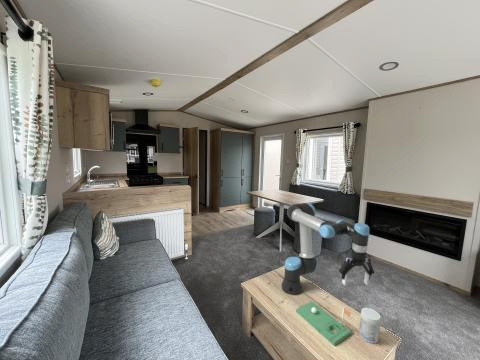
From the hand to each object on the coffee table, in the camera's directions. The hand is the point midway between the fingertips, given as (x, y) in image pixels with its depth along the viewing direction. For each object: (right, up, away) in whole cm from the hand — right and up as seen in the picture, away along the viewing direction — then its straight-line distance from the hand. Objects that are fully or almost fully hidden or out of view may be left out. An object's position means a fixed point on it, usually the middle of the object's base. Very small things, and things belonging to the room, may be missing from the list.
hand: (355, 283), depth 125 cm
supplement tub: (+5, -28, -5) cm, 29 cm away
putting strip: (-18, -26, +5) cm, 32 cm away
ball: (-21, -22, +9) cm, 32 cm away
